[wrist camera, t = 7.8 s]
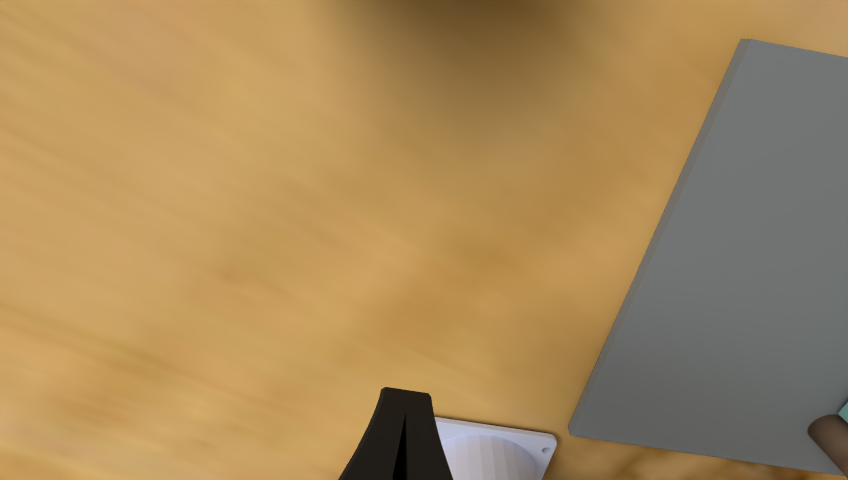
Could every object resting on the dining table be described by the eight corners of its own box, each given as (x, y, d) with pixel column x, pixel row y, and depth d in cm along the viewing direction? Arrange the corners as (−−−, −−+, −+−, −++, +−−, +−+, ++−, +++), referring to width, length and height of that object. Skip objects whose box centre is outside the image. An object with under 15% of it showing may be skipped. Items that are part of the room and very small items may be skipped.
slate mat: (840, 467, 26) (849, 476, 26) (567, 426, 25) (570, 435, 25) (1154, 117, 17) (1178, 120, 16) (741, 39, 16) (751, 39, 16)
